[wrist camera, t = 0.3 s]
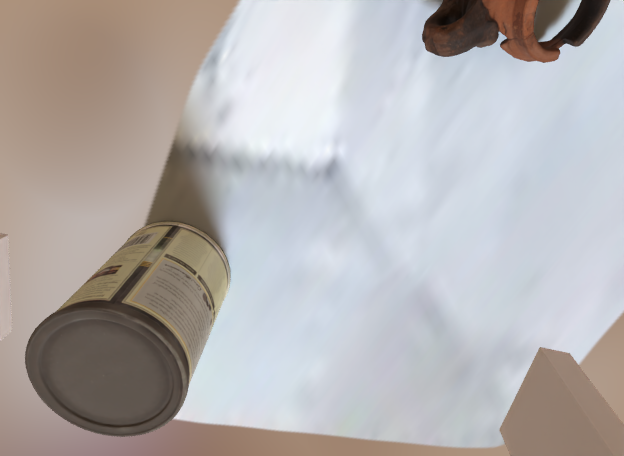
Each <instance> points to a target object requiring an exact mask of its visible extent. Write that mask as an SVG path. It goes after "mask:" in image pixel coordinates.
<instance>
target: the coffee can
mask: <svg viewBox="0 0 624 456" xmlns="http://www.w3.org/2000/svg"><path fill="white" fill-rule="evenodd" d="M229 286H230V268H229V265H228V262H227V259H226V257H225V255H224V253H223V251H222V250H221V248H220V247H219V246H218V245H217V243H216V242H215V241H214V240H213V239H211V238H210V237H209V236H208V235H207V234H206V233H204V232H202V231H200V230H198V229H197V228H195V227H192V226H190V225H187V224H183V223H179V222H166V221H163V222H158V223H153V224H150V225H147V226H145V227H143V228H141V229H139V230H138V231H137V232H135V233H134V234H133V235H132V236H131V237H130V238H129V239H128V240H127V242H126V243H125V244H124V245H123V246H122V247H121V248H120V249H119V250H118V251H117V252H116V253H115V254H114V255H113V256H112V257H111V258H110V259H109V260H108V261H107V262H106V263H105V264H104V265H103V266H102V267H101V268H100V269H99V270H98V271H97V272H96V273H95V274H94V275H93V276H92V277H91V278H90V279H89V280H88V281H87V282H86V283H85V284H84V285H83V286H82V287H81V288H80V289H79V290H78V291H77V292H76V293H75V294H74V295H72V296H71V298H69V300H67V301H66V302H65V303H64V304H63V305H62V306H61V307H60V308H59V309H58V310H57V311H56V312H55V313H53V314H51V315H50V316H49V317H47V318H46V319H45V320H44V321H43V322H42V323H41V324H39V326H38V327H37V328H36V329H35V330H34V332H33V333H32V335H31V337H30V339H29V341H28V344H27V348H26V354H25V364H26V369H27V373H28V376H29V379H30V381H31V383H32V385H33V387H34V389H35V390H36V392H37V394H38V395H39V396H40V398H41V399H42V400H43V401H44V403H46V404H47V406H48V407H50V408H51V409H52V410H53V411H54V412H55V413H56V414H58V415H59V416H61V417H62V418H64V419H65V420H67V421H69V422H70V423H72V424H74V425H76V426H78V427H80V428H83V429H85V430H88V431H91V432H94V433H98V434H103V435H109V436H121V437H125V436H136V435H142V434H146V433H149V432H152V431H154V430H157V429H159V428H160V427H162V426H164V425H165V424H167V423H168V422H169V421H171V420H172V419H173V418H174V417H175V416H176V414H177V413H178V412H179V410H180V409H181V407H182V405H183V403H184V401H185V398H186V395H187V391H188V387H189V383H190V381H191V378H192V376H193V373H194V371H195V369H196V366H197V364H198V361H199V359H200V357H201V354H202V352H203V349H204V347H205V344H206V342H207V340H208V337H209V335H210V332H211V330H212V327H213V325H214V322H215V320H216V317H217V315H218V312H219V310H220V308H221V305H222V303H223V301H224V299H225V297H226V295H227V293H228V290H229Z"/></svg>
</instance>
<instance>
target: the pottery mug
mask: <svg viewBox="0 0 624 456" xmlns="http://www.w3.org/2000/svg"><path fill="white" fill-rule="evenodd" d="M538 1H539V0H443V3H442V5H441V6H440V7H439V9H438V10H437V11H436V12H435V13H434V14H433V15H431V16H430V17H429V18H428V19H427V21H426V22H425V25H424V30H423V34H422V40H423V42H424V43H425V48H426V50H427V51H429V52H431V53H433V54H435V55H438V56H443V57H449V56H455V55H458V54H461V53H464V52H467V51H468V50H470V49H472V48H473V47H475V46H477V47H480V48H482V47H485V46H490V45H492V44H493V43H495V42H496V41H497V39H498V35H499V34H498V32H499V31H500V32H501V33H502V34H503V35H505V36H506V37H507V39H505V40H504V41H502V42H501V44H500V47H501V48H502V49H503V50H505V51H506V52H507V53H508V54H510V55H512V56H513V57H514V58H517V59H520V60H524V61H528V62H531V61H540V62H543V63H545V62H551V61H555V60H557V59H558V57H559V54H560V50H559V48H560V47H561V46H562V45H564V44H565V43H567V44H570V45H572V46H575V47H577V46H580V45H581V44H582V43H583V42H584V41H585V40H586V39H587V38H588V37H589V36H590V34H591V33H592V32H593V30H594V29H595V28H596V26H597V25H598V24H599V22H600V20H601V19H602V17H603V15H604V13H605V12H606V10H607V7H608V5H609V3H610V0H582V1H581V3H580V6H579V8H578V10H577V11H576V13H575V15H574V17H573V18H572V19H571V20H570V22H569V23H568V24H567V25H566V26H565V27H564V28H563V29H562V30H561V31H560V32H559V33H558V34H557V35H556V36H555V37H554V38H553V39H552V40H550V41H545V42H538V41H537V39H536V37H535V34H534V32H533V30H534V18H535V13H536V9H537V5H538Z"/></svg>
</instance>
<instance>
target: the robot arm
mask: <svg viewBox="0 0 624 456" xmlns="http://www.w3.org/2000/svg"><path fill="white" fill-rule="evenodd" d="M11 331H12V314H11V292H10V267H9V245H8V235H7V234H2V233H0V341H1V340H2V339H3V338H4V337H5V336H6V335H8V334H9V333H10V332H11ZM500 432H501V435H502V437H503V439H504V442H505V444H506V446H507V448H508V451H509V453H510V456H624V424H623V423H622V421H621V420H620V419H619V418H618V416H617V415H616V414H615V412H614V411H613V410H612V408H611V407H610V406H609V404H608V403H607V402H606V401H605V399H604V398H603V397H602V395H601V394H600V393H599V391H598V390H597V389H596V387H595V386H594V385H593V383H592V382H591V381H590V379H589V378H588V377H587V376H586V374H585V373H584V372H583V371H582V369H581V368H580V366H579V365H578V364H577V362H576V361H575V360H574V358H573V357H572V356H571V355H570V353H565V352H561V351H556V350H551V349H546V348H542V347H540V348H539V350H538V352H537V354H536V356H535V358H534V360H533V362H532V364H531V366H530V368H529V370H528V372H527V375H526V377H525V379H524V381H523V383H522V385H521V387H520V389H519V391H518V393H517V395H516V397H515V399H514V401H513V403H512V405H511V407H510V409H509V411H508V413H507V415H506V417H505V419H504V421H503V423H502V426H501V428H500Z"/></svg>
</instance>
